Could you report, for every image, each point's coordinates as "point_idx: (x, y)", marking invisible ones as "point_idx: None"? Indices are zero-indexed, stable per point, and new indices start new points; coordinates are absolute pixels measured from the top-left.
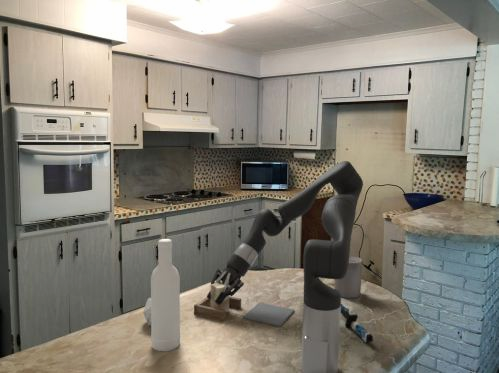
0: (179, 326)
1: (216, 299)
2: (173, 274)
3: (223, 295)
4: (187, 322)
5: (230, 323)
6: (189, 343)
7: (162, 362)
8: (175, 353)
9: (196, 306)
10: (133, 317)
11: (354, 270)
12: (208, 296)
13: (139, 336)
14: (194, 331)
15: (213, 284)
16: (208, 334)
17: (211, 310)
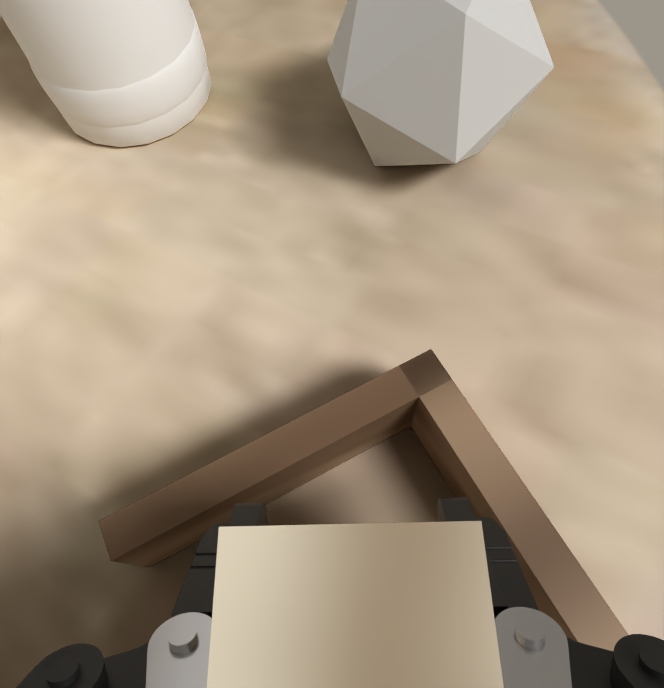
0: (22, 35)
1: (245, 515)
2: None
3: (174, 610)
4: (310, 281)
5: (57, 560)
6: (55, 182)
7: (14, 44)
8: (30, 101)
9: (403, 363)
10: (569, 66)
11: None
12: (441, 508)
13: (310, 36)
14: (157, 262)
15: (453, 572)
16: (53, 314)
17: (244, 449)
